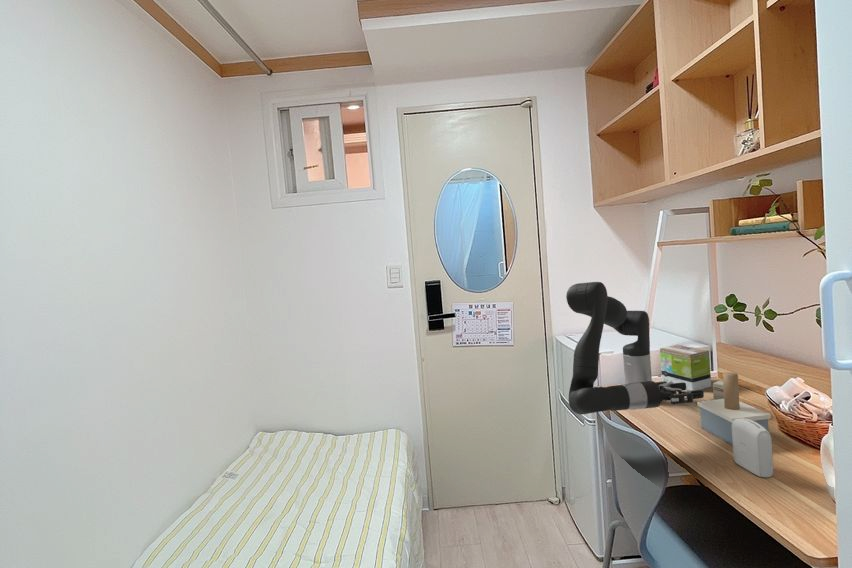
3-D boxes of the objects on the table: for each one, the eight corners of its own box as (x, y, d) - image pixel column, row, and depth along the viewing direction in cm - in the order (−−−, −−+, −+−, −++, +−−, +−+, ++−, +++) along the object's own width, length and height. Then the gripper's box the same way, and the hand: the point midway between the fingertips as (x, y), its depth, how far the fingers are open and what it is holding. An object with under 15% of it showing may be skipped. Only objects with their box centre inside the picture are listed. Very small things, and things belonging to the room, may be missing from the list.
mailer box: (701, 428, 152) (700, 405, 152) (732, 424, 153) (731, 402, 152) (734, 446, 137) (733, 422, 137) (769, 442, 138) (767, 418, 137)
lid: (697, 405, 152) (695, 369, 152) (731, 401, 153) (729, 366, 152) (732, 423, 136) (730, 383, 136) (770, 418, 137) (768, 378, 136)
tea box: (661, 383, 201) (658, 347, 200) (679, 379, 204) (677, 343, 203) (693, 392, 186) (690, 353, 186) (712, 387, 190) (710, 349, 189)
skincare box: (713, 412, 164) (711, 382, 164) (721, 409, 166) (719, 379, 166) (729, 416, 160) (727, 385, 159) (737, 412, 162) (735, 382, 161)
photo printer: (730, 461, 129) (728, 415, 128) (746, 459, 129) (744, 413, 129) (759, 479, 119) (756, 429, 118) (776, 477, 119) (774, 427, 118)
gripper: (651, 389, 135) (708, 383, 136) (627, 376, 149) (679, 371, 150) (653, 416, 136) (710, 409, 137) (628, 401, 150) (680, 395, 151)
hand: (693, 389), depth 143 cm, fingers open, 8 cm apart
